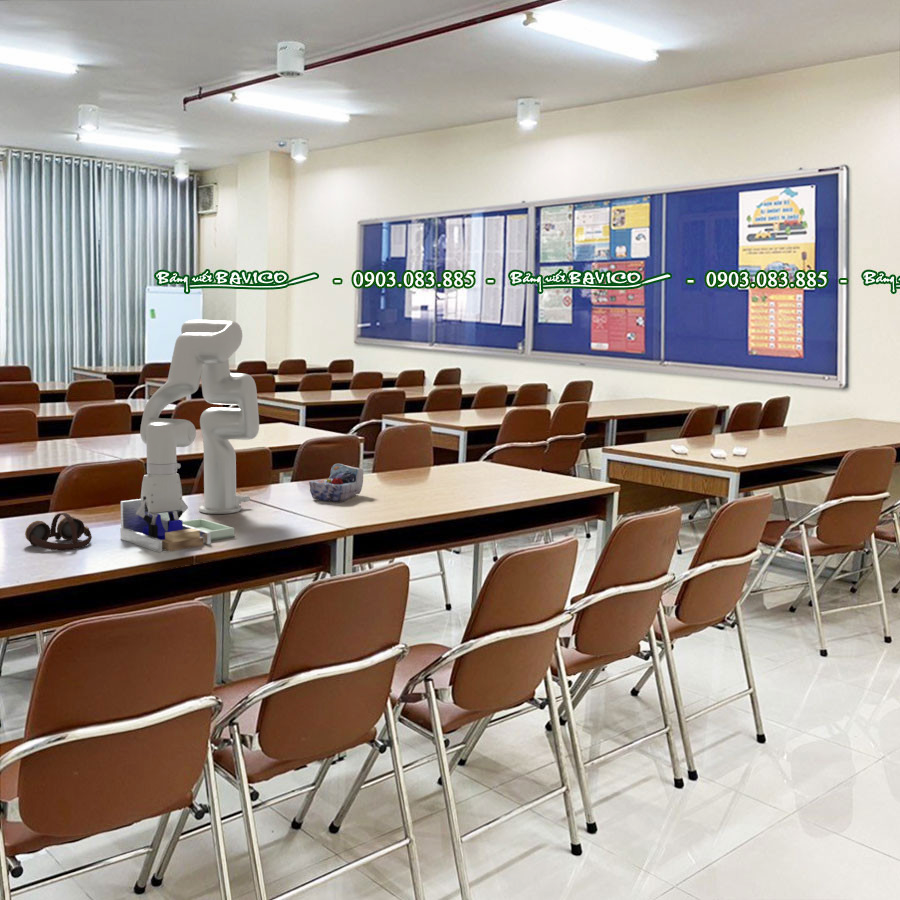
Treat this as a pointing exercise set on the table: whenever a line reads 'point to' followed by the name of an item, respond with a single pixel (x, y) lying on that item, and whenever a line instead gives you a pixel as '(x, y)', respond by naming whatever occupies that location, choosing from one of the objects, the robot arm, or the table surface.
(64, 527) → the goggles
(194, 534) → the oak offcut
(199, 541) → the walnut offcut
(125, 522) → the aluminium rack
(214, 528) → the sage tray
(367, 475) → the table surface
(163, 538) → the cable clip
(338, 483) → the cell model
